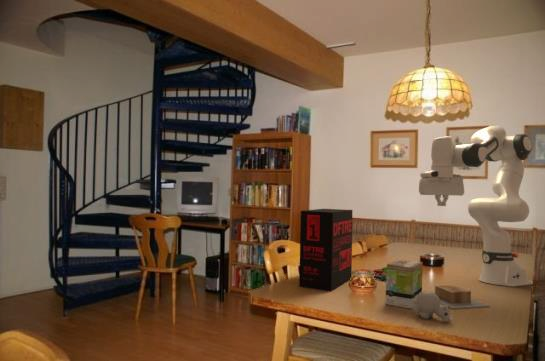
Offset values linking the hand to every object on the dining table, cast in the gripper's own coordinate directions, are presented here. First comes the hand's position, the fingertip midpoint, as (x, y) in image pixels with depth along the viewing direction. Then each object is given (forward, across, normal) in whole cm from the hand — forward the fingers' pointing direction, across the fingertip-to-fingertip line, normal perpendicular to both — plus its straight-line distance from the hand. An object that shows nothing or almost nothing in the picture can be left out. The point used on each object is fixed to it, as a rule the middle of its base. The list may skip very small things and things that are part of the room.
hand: (441, 206), depth 174 cm
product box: (+35, +46, -17) cm, 60 cm away
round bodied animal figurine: (+36, +30, +36) cm, 59 cm away
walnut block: (+33, +8, +13) cm, 36 cm away
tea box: (+35, +28, +17) cm, 48 cm away
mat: (+35, +8, +21) cm, 42 cm away
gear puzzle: (+36, +8, -27) cm, 46 cm away
